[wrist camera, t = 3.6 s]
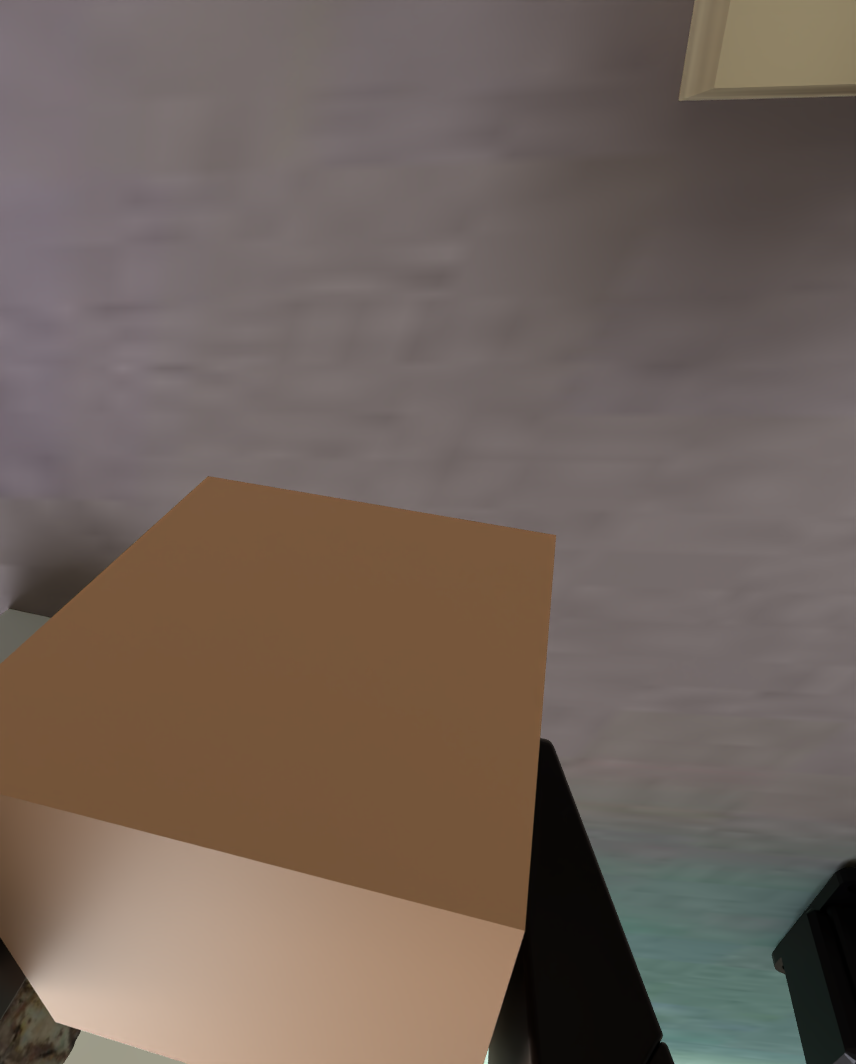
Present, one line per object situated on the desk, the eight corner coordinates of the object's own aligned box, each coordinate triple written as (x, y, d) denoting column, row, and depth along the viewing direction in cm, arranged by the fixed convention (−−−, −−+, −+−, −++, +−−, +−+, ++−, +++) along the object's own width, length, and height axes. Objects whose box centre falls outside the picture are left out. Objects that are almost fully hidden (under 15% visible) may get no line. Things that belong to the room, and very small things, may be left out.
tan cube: (556, 535, 8) (524, 929, 4) (505, 769, 11) (456, 1148, 7) (208, 476, 9) (-112, 765, 5) (242, 710, 12) (55, 1021, 8)
